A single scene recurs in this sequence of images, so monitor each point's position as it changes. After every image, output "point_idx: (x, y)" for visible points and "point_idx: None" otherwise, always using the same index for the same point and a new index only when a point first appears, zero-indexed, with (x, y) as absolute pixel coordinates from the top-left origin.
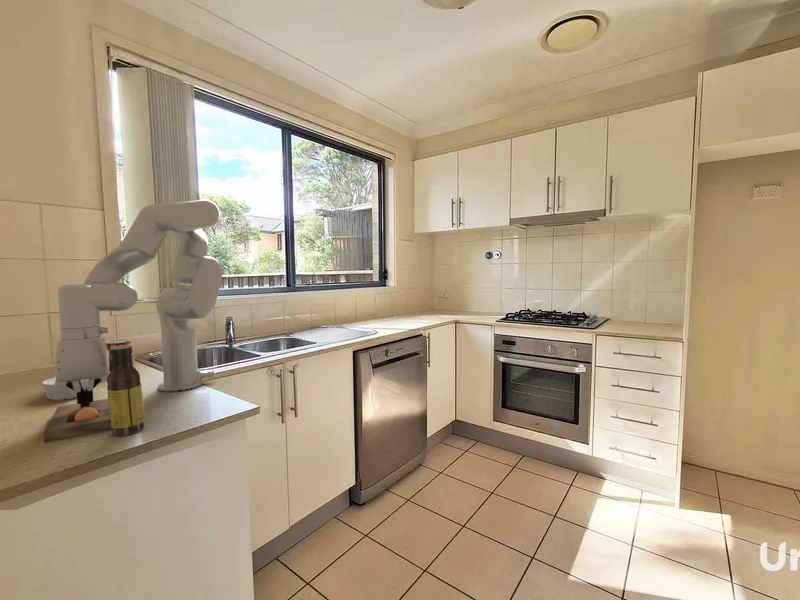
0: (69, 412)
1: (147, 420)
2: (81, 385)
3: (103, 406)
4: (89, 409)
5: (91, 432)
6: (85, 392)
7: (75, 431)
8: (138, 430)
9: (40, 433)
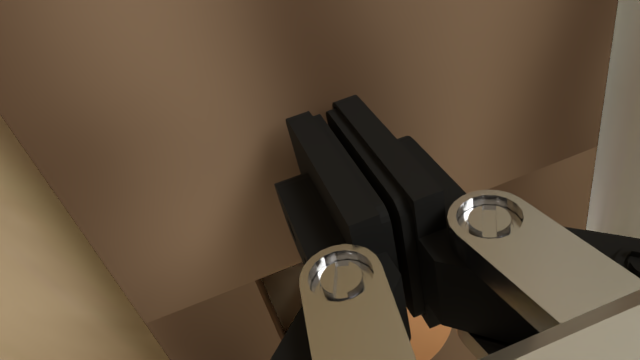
0: (226, 230)
1: (622, 227)
2: (391, 301)
3: (455, 130)
4: (432, 355)
5: None
6: (426, 323)
7: None
8: None
9: (125, 328)
